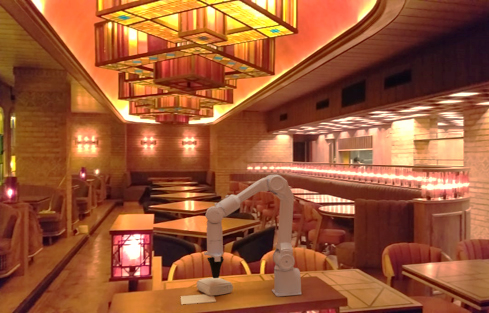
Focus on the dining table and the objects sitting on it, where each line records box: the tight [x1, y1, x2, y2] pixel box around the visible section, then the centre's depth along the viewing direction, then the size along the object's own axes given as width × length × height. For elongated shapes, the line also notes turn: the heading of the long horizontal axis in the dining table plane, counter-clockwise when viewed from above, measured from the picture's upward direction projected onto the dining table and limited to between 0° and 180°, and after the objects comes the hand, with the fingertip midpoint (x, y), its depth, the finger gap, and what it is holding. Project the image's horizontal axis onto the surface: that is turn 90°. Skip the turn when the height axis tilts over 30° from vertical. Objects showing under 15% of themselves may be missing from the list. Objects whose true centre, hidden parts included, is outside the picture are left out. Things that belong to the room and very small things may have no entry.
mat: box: [179, 293, 217, 306], centre depth 148 cm, size 12×9×1 cm
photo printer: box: [196, 277, 234, 296], centre depth 157 cm, size 10×4×12 cm
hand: (215, 277), depth 149 cm, fingers closed
